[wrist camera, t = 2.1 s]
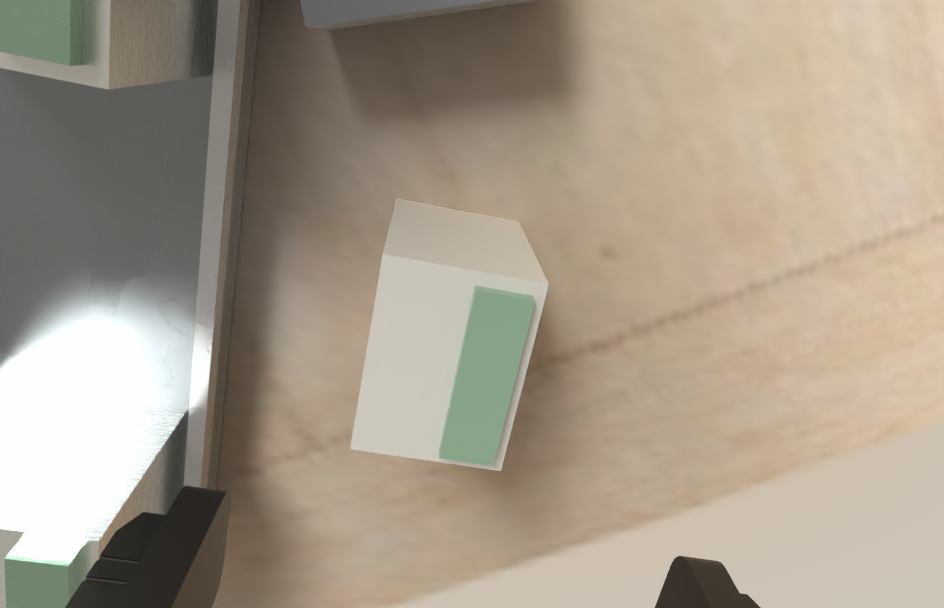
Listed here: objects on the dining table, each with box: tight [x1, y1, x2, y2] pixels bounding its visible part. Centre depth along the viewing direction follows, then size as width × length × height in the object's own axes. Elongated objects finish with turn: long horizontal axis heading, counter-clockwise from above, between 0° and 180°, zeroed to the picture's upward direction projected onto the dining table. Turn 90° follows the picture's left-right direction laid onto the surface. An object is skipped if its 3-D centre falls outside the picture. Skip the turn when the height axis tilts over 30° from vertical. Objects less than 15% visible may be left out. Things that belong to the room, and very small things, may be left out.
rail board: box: [0, 0, 261, 608], centre depth 20 cm, size 24×9×9 cm, turn 168°
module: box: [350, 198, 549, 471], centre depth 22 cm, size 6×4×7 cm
